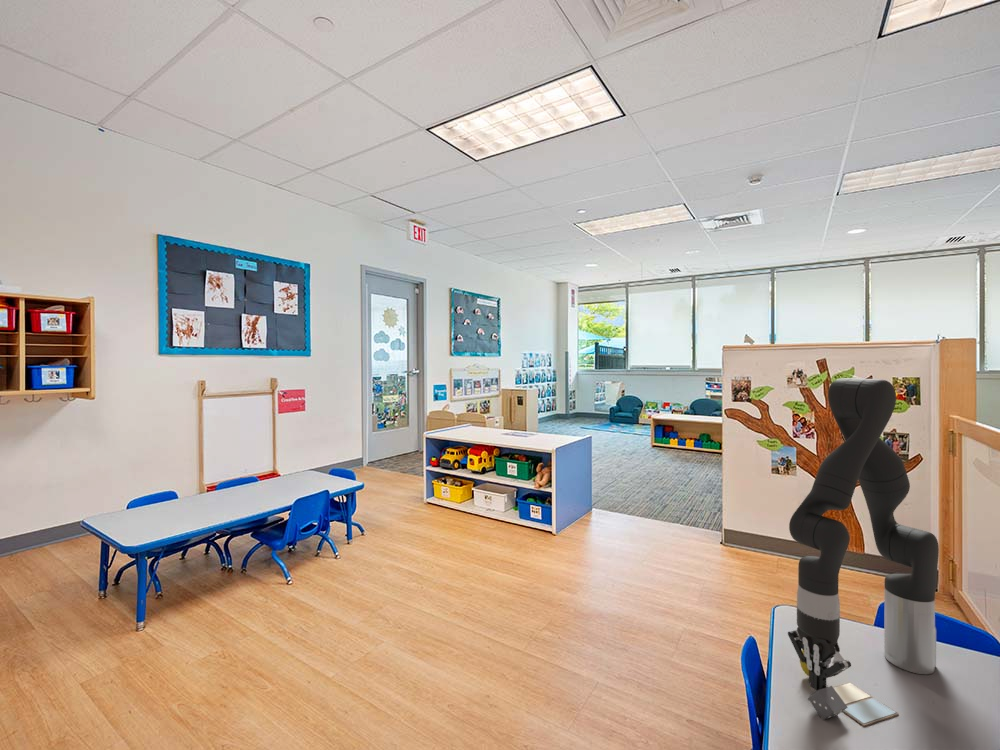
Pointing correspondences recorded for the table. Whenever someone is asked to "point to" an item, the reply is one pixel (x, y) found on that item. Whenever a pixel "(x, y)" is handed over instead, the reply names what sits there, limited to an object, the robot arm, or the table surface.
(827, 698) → the die
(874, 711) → the board
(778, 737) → the table surface
